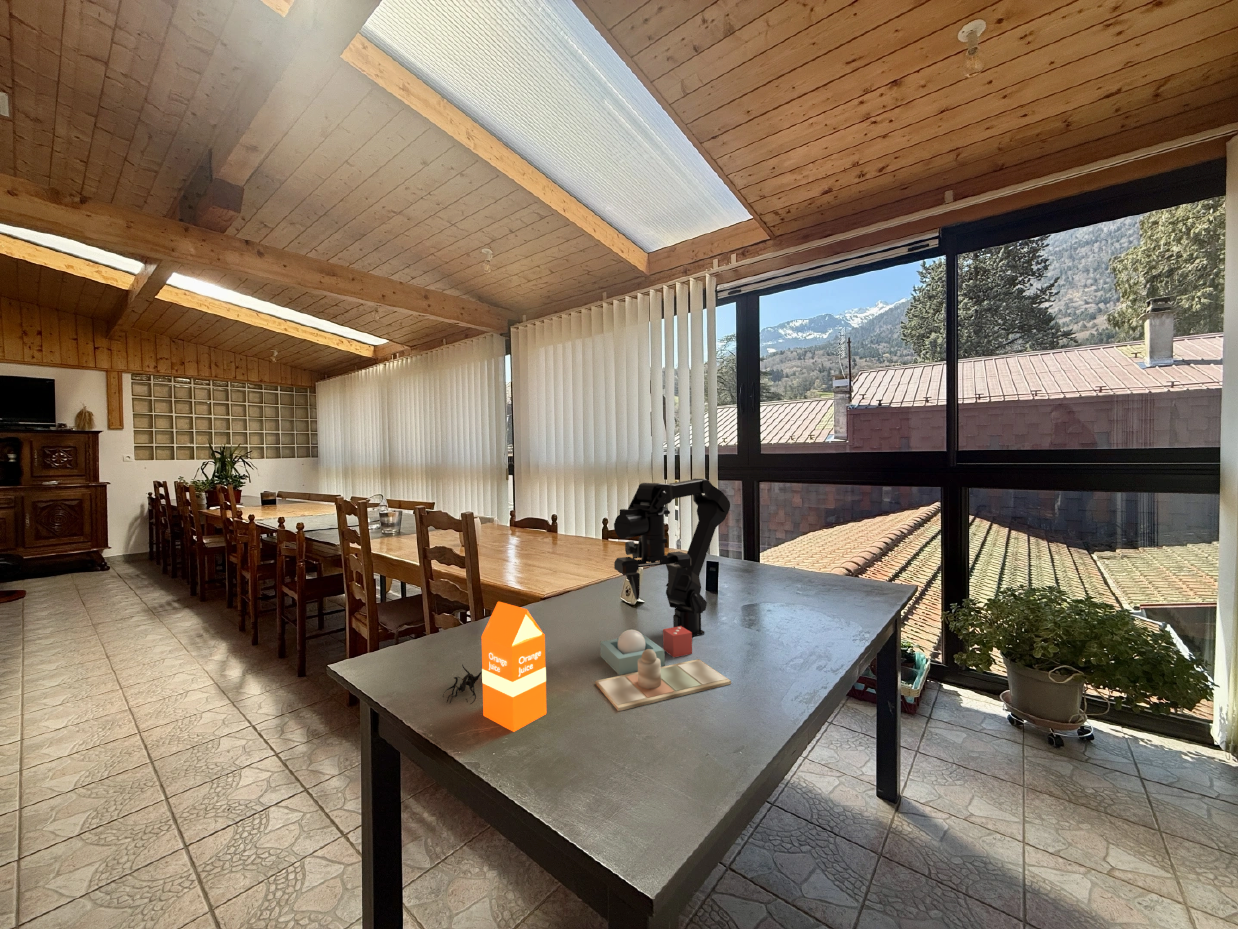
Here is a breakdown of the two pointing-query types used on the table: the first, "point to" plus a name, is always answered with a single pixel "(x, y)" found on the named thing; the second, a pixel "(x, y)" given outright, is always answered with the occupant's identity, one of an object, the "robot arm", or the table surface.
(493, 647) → the orange juice
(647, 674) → the pawn
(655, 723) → the table surface
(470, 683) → the creature
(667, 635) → the red die
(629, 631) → the white ball
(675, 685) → the game board
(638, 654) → the housing
